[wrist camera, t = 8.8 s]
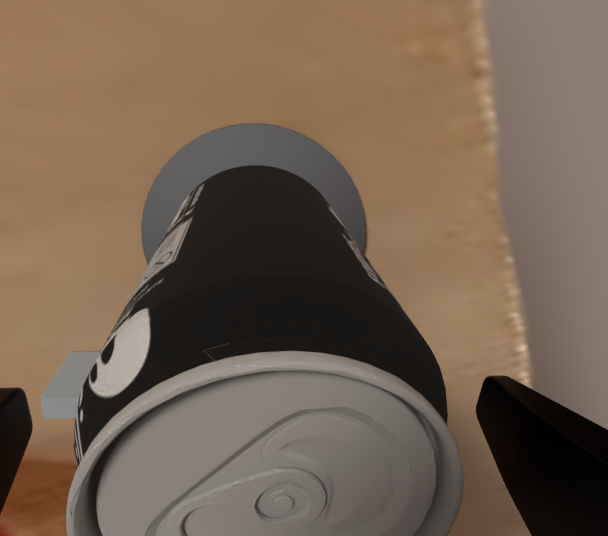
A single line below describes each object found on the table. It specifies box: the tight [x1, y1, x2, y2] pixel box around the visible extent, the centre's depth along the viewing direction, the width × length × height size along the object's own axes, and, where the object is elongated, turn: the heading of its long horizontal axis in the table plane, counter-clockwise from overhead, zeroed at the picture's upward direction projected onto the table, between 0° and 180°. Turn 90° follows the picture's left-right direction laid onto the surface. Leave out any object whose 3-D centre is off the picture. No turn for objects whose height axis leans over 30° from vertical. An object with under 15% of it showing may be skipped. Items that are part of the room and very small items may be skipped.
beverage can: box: [66, 165, 463, 536], centre depth 12 cm, size 7×7×12 cm
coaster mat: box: [142, 124, 366, 265], centre depth 17 cm, size 9×9×1 cm
